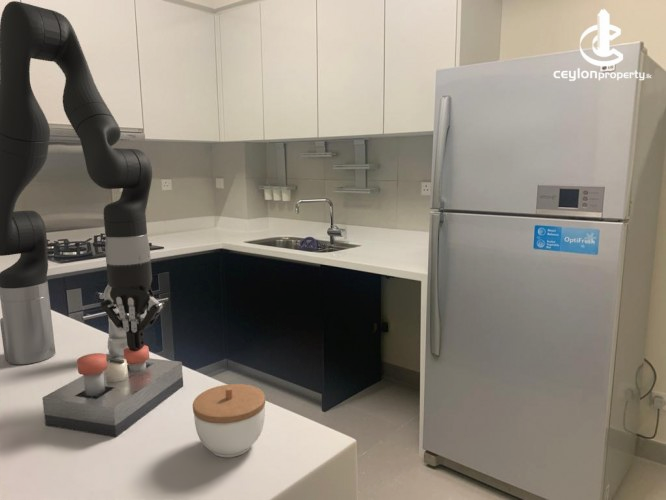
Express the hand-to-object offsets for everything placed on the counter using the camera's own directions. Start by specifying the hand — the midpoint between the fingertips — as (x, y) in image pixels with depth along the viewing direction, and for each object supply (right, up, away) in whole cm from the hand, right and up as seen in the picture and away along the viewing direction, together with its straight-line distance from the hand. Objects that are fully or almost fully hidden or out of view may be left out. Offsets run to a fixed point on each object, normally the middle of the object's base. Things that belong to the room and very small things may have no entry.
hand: (136, 349), depth 92 cm
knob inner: (0, -6, +1) cm, 6 cm away
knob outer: (-3, -5, -10) cm, 12 cm away
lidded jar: (+22, -12, -17) cm, 30 cm away
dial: (-2, -4, -5) cm, 6 cm away
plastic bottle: (-10, -6, +19) cm, 23 cm away
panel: (-1, -9, -4) cm, 10 cm away
